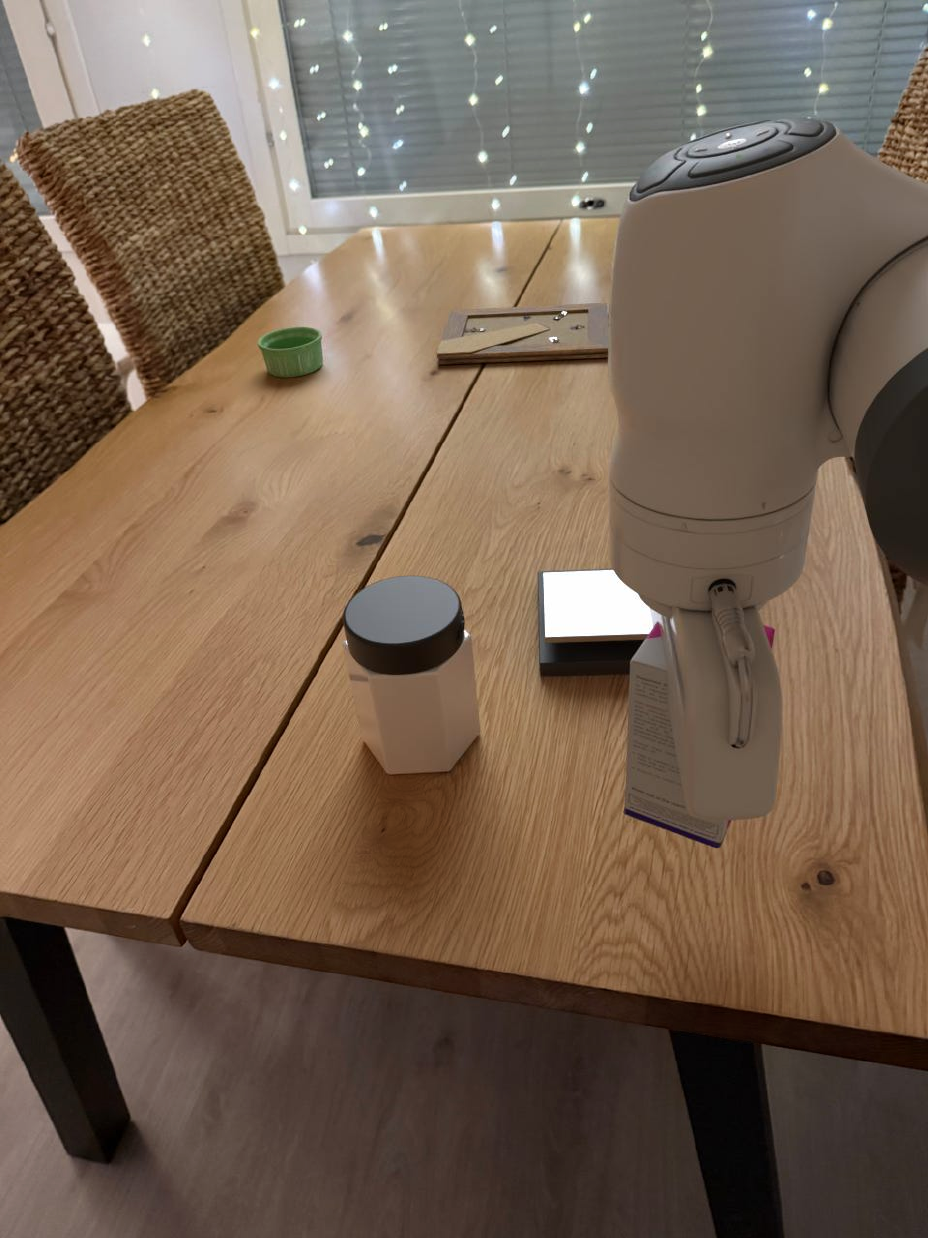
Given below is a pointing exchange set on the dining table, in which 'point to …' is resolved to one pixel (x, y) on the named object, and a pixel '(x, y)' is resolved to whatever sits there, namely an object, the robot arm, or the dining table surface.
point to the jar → (411, 673)
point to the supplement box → (659, 751)
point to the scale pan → (592, 608)
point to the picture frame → (525, 334)
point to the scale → (581, 649)
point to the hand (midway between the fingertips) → (691, 743)
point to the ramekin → (292, 351)
